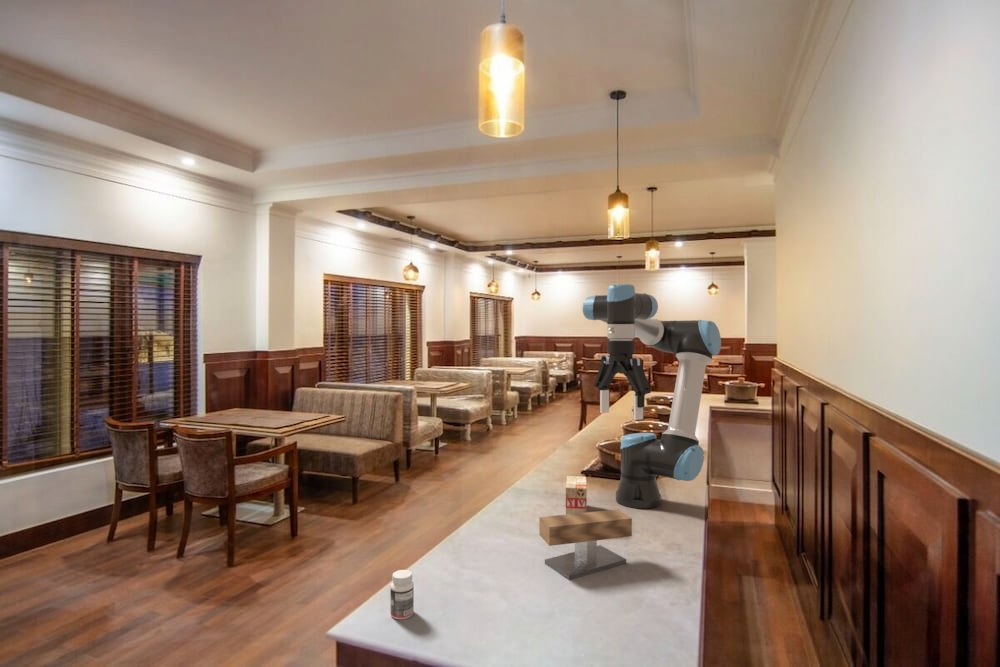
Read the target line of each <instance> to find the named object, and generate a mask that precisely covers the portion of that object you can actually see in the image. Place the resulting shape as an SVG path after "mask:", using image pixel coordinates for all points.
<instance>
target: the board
mask: <svg viewBox="0 0 1000 667" xmlns="http://www.w3.org/2000/svg"><path fill="white" fill-rule="evenodd" d="M538 520H539V536H540V538H541V539H542V540H544V542H545V543H546V544H547V545H548V546H549V547H551V546H552V547H553V546H561V545H562V546H563V545H569V544H575V543H579V542H587V541H596V540H597V541H604V540H612V539H621V538H628V537H629V538H630V537H632V536H633V523H632V522H633V518H632V517H631V516H629V515H627V514H626V513H625V512H623V511H621V510H620V509H619V508H617V509H609V510H608V509H607V510H599V511H597V510H596V511H588V512H586V513H576V514H566V513H565V514H559V515H550V516H548V515H547V516H539V518H538Z"/></svg>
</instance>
